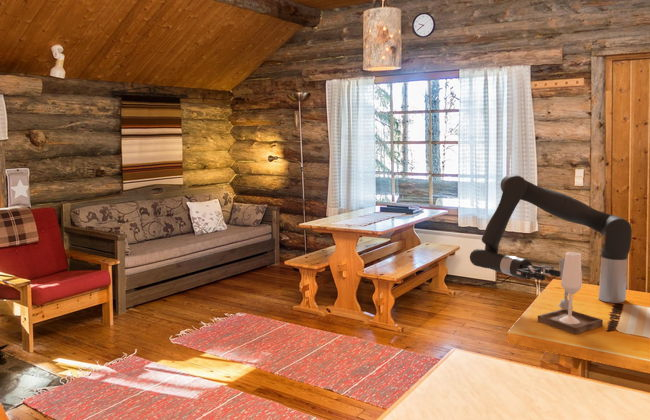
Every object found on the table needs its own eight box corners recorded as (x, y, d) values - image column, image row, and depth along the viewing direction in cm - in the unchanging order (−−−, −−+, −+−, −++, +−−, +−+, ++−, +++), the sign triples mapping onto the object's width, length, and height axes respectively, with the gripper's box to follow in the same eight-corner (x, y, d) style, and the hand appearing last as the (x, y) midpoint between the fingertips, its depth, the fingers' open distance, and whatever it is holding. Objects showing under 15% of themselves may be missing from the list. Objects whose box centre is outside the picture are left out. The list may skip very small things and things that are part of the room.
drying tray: (564, 314, 210) (564, 308, 210) (602, 325, 198) (602, 319, 197) (537, 321, 202) (537, 315, 202) (575, 334, 190) (575, 328, 189)
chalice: (578, 309, 216) (581, 262, 213) (560, 309, 216) (562, 262, 213) (570, 303, 223) (573, 258, 220) (552, 303, 223) (555, 258, 220)
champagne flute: (581, 324, 196) (585, 256, 192) (559, 323, 198) (563, 255, 194) (578, 318, 202) (582, 252, 199) (558, 316, 204) (561, 251, 201)
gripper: (503, 259, 214) (540, 268, 200) (528, 254, 221) (565, 262, 207) (502, 279, 215) (539, 289, 201) (527, 273, 222) (564, 283, 208)
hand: (552, 275), depth 204 cm, fingers open, 8 cm apart
